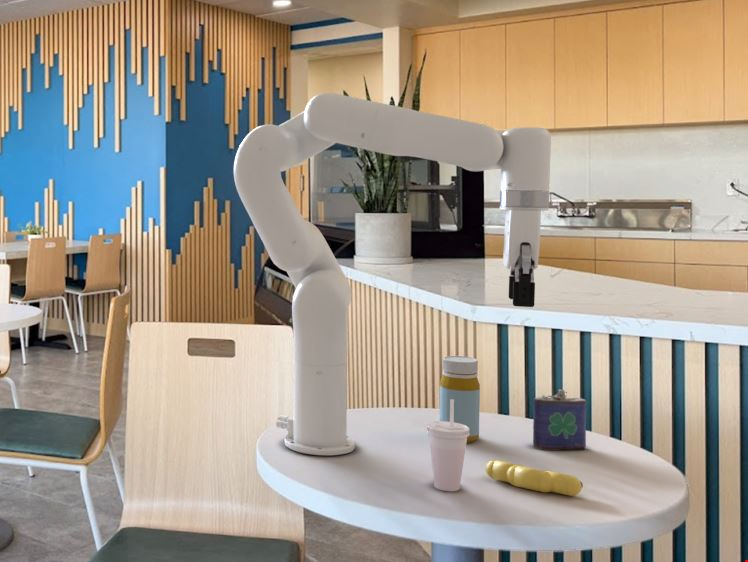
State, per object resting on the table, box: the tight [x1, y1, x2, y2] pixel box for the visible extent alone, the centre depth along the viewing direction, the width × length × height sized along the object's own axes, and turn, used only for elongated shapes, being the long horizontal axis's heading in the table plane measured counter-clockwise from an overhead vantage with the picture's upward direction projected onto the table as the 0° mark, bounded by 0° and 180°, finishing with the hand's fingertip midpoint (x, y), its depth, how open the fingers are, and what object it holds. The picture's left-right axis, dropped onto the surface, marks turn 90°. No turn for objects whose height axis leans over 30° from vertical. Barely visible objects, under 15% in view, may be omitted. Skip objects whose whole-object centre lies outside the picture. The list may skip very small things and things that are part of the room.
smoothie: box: [425, 399, 470, 492], centre depth 136 cm, size 6×6×14 cm
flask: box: [532, 388, 587, 451], centre depth 157 cm, size 9×3×11 cm, turn 88°
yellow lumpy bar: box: [485, 459, 584, 497], centre depth 136 cm, size 14×4×3 cm, turn 48°
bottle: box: [438, 355, 481, 444], centre depth 163 cm, size 7×7×15 cm
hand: (520, 302), depth 146 cm, fingers open, 9 cm apart
